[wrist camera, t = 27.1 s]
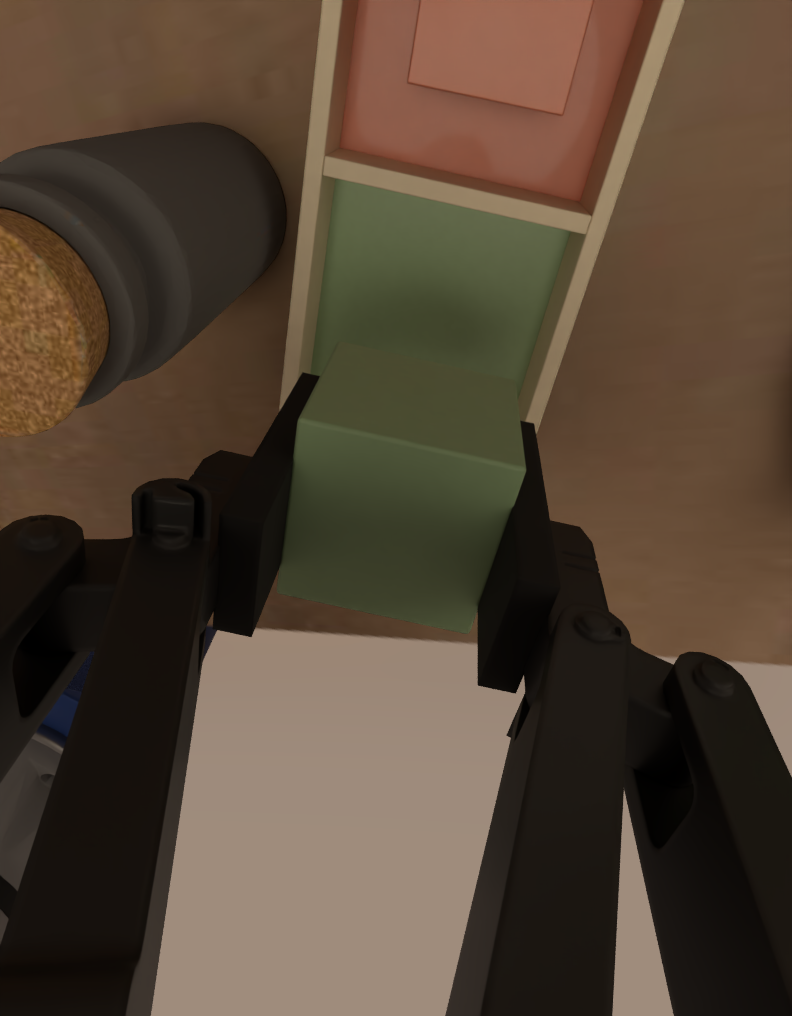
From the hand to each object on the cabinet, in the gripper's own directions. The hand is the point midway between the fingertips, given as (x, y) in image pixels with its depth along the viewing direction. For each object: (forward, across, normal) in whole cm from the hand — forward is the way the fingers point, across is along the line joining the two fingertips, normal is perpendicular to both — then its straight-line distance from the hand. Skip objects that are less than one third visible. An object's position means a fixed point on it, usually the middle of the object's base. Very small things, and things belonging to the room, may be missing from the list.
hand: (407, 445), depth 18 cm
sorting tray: (+12, 0, +5) cm, 13 cm away
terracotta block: (+11, 0, +10) cm, 15 cm away
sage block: (0, 0, 0) cm, 0 cm away
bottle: (+12, -9, +2) cm, 15 cm away
